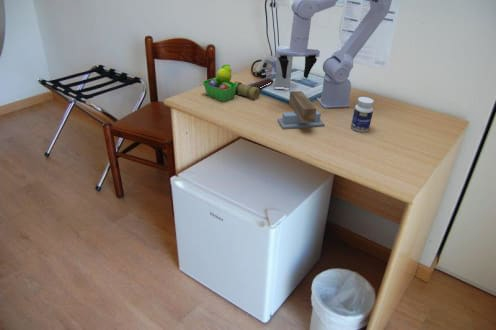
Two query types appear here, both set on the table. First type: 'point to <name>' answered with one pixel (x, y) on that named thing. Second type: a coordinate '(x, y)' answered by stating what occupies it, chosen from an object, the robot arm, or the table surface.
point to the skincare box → (278, 78)
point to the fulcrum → (298, 121)
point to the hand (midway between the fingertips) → (294, 77)
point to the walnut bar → (302, 106)
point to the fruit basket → (221, 85)
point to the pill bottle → (362, 114)
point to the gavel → (251, 89)
